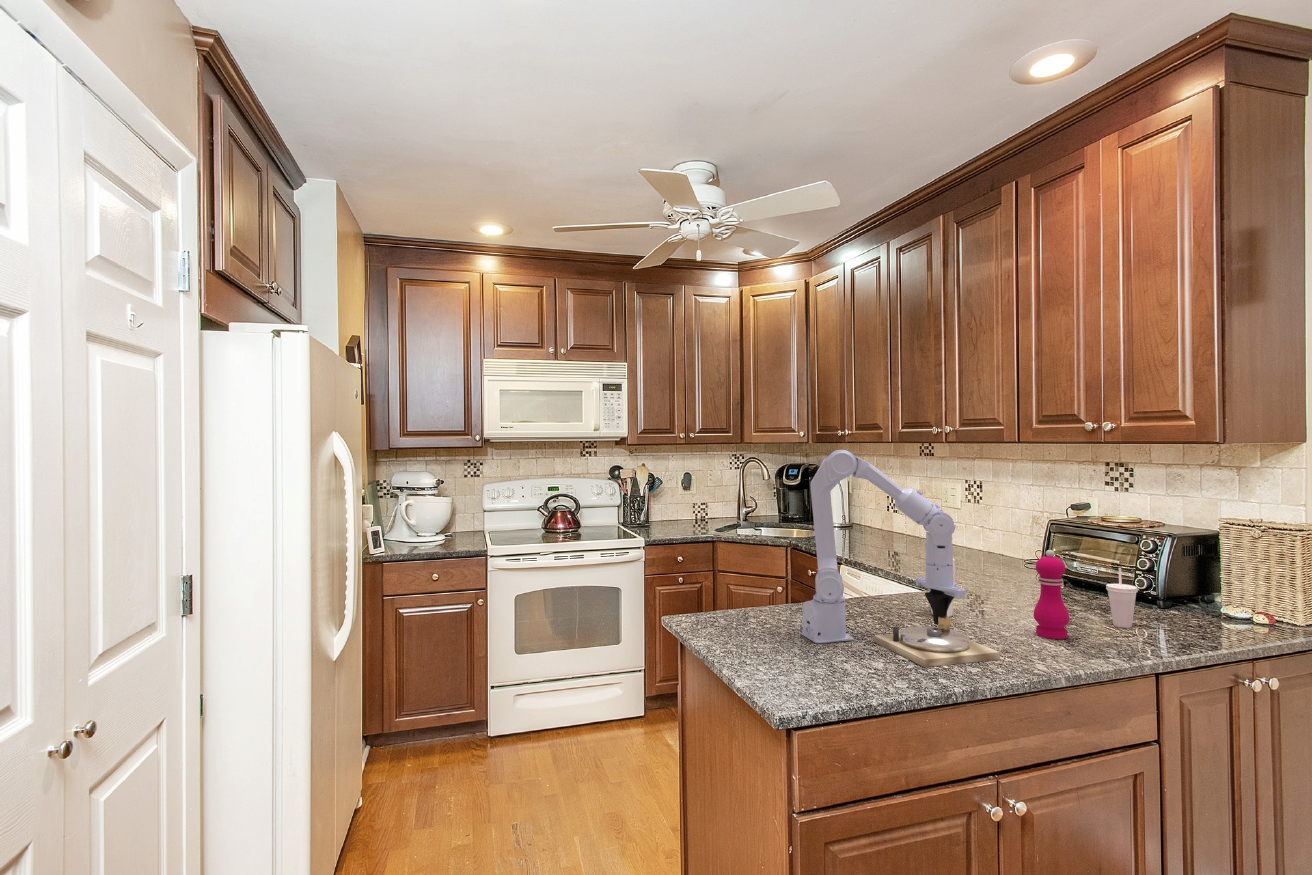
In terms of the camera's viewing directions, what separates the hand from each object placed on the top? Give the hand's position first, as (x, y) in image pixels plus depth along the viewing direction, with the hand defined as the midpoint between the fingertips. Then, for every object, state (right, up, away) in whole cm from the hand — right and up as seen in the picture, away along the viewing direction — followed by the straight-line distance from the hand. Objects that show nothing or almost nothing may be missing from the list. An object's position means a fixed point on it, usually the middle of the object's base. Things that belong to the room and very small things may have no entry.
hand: (940, 624), depth 150 cm
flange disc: (-3, -3, -5) cm, 7 cm away
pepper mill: (+28, -4, +5) cm, 29 cm away
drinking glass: (+11, -5, +24) cm, 27 cm away
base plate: (-3, -4, -5) cm, 8 cm away
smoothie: (+50, -4, +12) cm, 52 cm away
